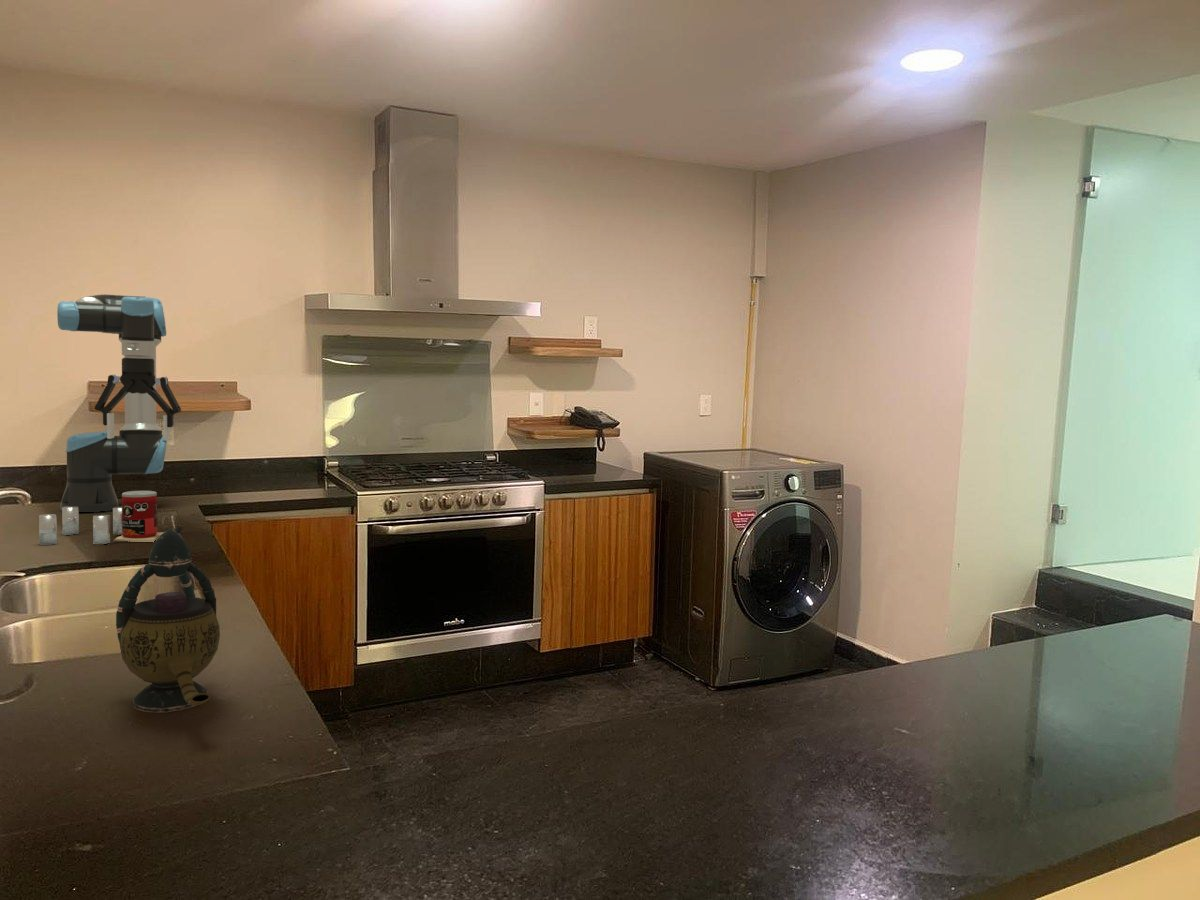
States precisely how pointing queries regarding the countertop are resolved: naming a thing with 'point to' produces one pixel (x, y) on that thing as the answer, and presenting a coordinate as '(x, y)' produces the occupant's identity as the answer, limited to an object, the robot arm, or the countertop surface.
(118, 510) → the cylinder
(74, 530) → the cylinder
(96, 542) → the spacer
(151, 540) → the coaster
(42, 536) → the cylinder
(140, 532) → the canned food
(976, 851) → the countertop surface
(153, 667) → the teapot
